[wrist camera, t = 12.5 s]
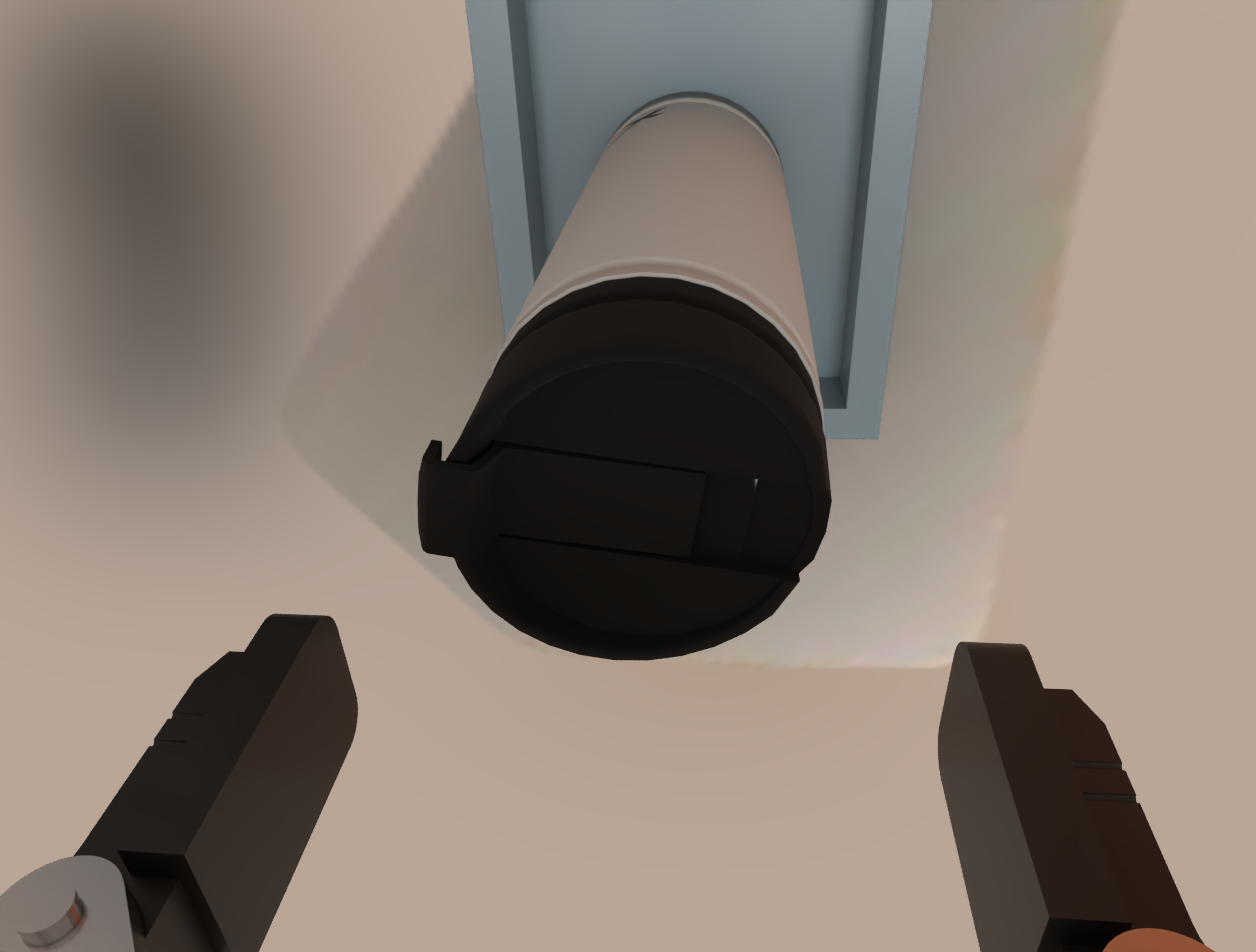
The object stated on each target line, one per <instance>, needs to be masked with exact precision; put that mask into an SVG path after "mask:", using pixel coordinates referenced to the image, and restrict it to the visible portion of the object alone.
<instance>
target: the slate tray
mask: <svg viewBox="0 0 1256 952" xmlns="http://www.w3.org/2000/svg"><path fill="white" fill-rule="evenodd" d="M932 1H933V0H465V3H466V11H467V20H468V28H469V36H470V44H471V53H472V62H473V70H474V79H475V87H476V96H477V104H478V112H479V121H480V129H481V138H482V146H483V154H484V163H485V171H486V180H487V188H488V196H489V205H490V213H491V222H492V230H493V238H494V247H495V255H496V264H497V272H498V280H499V289H500V297H501V306H502V314H503V322H504V331H505V339H507V336H508V334H509V332H510V330H511V328H512V326H513V324H514V322H515V320H516V318H517V316H518V315H519V313H520V311H521V309H522V307H523V305H524V303H525V301H526V299H527V297H528V295H529V293H530V291H531V290H532V288H533V286H534V284H535V282H536V280H537V278H538V276H539V274H540V272H541V270H542V268H543V267H544V265H545V263H546V261H547V259H548V257H549V255H550V253H551V251H552V249H553V247H554V245H555V243H556V242H557V240H558V238H559V236H560V234H561V232H562V230H563V228H564V226H565V224H566V222H567V220H568V218H569V217H570V215H571V213H572V211H573V209H574V207H575V205H576V203H577V201H578V199H579V197H580V195H581V193H582V192H583V190H584V188H585V186H586V184H587V182H588V180H589V178H590V176H591V174H592V172H593V170H594V168H595V167H596V165H597V163H598V161H599V159H600V157H601V155H602V153H603V152H604V149H605V147H606V145H607V143H608V142H609V140H610V139H611V137H612V136H613V134H614V133H615V131H616V130H617V128H618V127H619V125H620V124H621V123H622V122H624V121H625V120H626V119H627V118H628V117H629V116H630V115H631V114H632V113H633V112H634V111H636V110H637V109H639V108H640V107H642V106H643V105H645V104H647V103H648V102H650V101H652V100H655V99H658V98H660V97H663V96H666V95H669V94H675V93H682V92H702V93H709V94H713V95H717V96H720V97H724V98H726V99H728V100H730V101H732V102H734V103H736V104H738V105H740V106H742V107H743V108H745V109H746V110H747V111H748V112H750V113H751V114H752V115H753V116H754V117H756V118H757V119H758V120H759V122H760V123H761V124H762V125H763V126H764V128H765V129H766V130H767V131H768V133H769V134H770V136H771V138H772V140H773V142H774V144H775V146H776V148H777V150H778V152H779V155H780V159H781V163H782V166H783V170H784V176H785V182H786V188H787V194H788V200H789V206H790V212H791V218H792V224H793V229H794V235H795V241H796V247H797V253H798V259H799V265H800V271H801V277H802V283H803V289H804V295H805V301H806V307H807V313H808V318H809V324H810V330H811V336H812V342H813V348H814V354H815V360H816V366H817V372H818V378H819V384H820V393H821V396H822V402H823V411H824V428H825V439H878V436H879V428H880V420H881V412H882V404H883V396H884V388H885V379H886V371H887V363H888V355H889V347H890V339H891V331H892V323H893V315H894V307H895V299H896V291H897V283H898V275H899V267H900V259H901V251H902V243H903V234H904V226H905V218H906V210H907V202H908V194H909V186H910V178H911V170H912V162H913V154H914V146H915V138H916V130H917V122H918V114H919V106H920V98H921V90H922V81H923V73H924V65H925V57H926V49H927V41H928V33H929V25H930V17H931V9H932Z"/></svg>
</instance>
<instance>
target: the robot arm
mask: <svg viewBox="0 0 1256 952" xmlns="http://www.w3.org/2000/svg"><path fill="white" fill-rule="evenodd" d="M172 713H173V716H172V718H171V719H168V720H167V721H166V722H165V724H164V725H163V727H162V728H161V730H160V731H159V733H158V734H157V736H156V737H155V739H154V745H153V746H149V747H148V749H147V750H146V752H145V753H144V755H143V756H142V758H141V759H140V760H139V762H138V763H137V765H136V766H135V768H134V769H133V771H132V772H131V774H130V775H129V777H128V778H127V780H126V781H125V783H124V784H123V786H122V787H121V788H120V790H119V791H118V793H117V794H116V796H115V797H114V799H113V800H112V802H111V803H110V804H109V806H108V807H107V809H106V810H105V812H104V813H103V815H102V816H101V818H100V819H99V821H98V822H97V824H96V825H95V827H94V828H93V829H92V831H91V832H90V834H89V836H88V837H87V838H86V840H85V841H84V843H83V844H82V846H81V847H80V848H79V850H78V851H77V852H76V853H75V855H74V856H73V857H68V858H64V859H60V860H57V861H54V862H52V863H49V864H46V865H44V866H42V867H40V868H39V869H36V870H34V871H33V872H31V873H29V874H28V875H26V876H25V877H23V878H21V879H20V880H19V881H17V882H16V883H15V884H14V885H12V886H11V887H10V888H9V889H7V890H6V891H5V892H4V893H3V894H2V895H1V896H0V952H259V950H260V948H261V945H262V943H263V941H264V939H265V936H266V934H267V932H268V930H269V928H270V925H271V923H272V921H273V918H274V916H275V914H276V912H277V910H278V908H279V905H280V903H281V901H282V899H283V896H284V894H285V892H286V889H287V887H288V885H289V883H290V881H291V878H292V876H293V874H294V872H295V870H296V867H297V865H298V863H299V861H300V858H301V856H302V854H303V852H304V849H305V847H306V845H307V843H308V841H309V838H310V836H311V834H312V831H313V829H314V827H315V825H316V823H317V820H318V818H319V816H320V813H321V811H322V809H323V807H324V805H325V803H326V800H327V798H328V796H329V794H330V791H331V789H332V787H333V785H334V782H335V780H336V778H337V775H338V773H339V771H340V769H341V767H342V764H343V762H344V760H345V758H346V755H347V753H348V751H349V749H350V747H351V744H352V742H353V738H354V735H355V731H356V724H357V716H358V704H357V697H356V692H355V689H354V685H353V682H352V679H351V675H350V671H349V668H348V664H347V661H346V657H345V654H344V650H343V646H342V643H341V639H340V636H339V632H338V628H337V626H336V623H335V621H334V620H333V619H332V618H331V617H330V616H322V615H296V614H295V615H294V614H272V615H270V616H269V617H268V618H266V619H265V621H264V622H263V623H262V625H261V626H260V628H259V629H258V631H257V633H256V634H255V636H254V637H253V639H252V641H251V642H250V643H249V645H248V647H247V648H246V650H245V651H244V652H231V651H229V652H228V653H227V654H225V655H224V656H223V657H222V658H220V659H219V660H218V661H217V662H216V663H214V664H213V665H212V666H211V667H209V668H208V669H207V670H206V671H204V672H203V673H202V674H201V675H200V676H199V677H197V678H196V679H195V680H194V681H193V683H192V684H191V686H190V687H189V689H188V690H187V692H186V693H185V694H184V696H183V698H182V699H181V700H180V702H179V704H178V705H177V706H176V708H175V709H174V711H173V712H172ZM938 759H939V769H940V775H941V781H942V785H943V789H944V794H945V798H946V802H947V807H948V811H949V816H950V820H951V824H952V829H953V833H954V837H955V842H956V846H957V850H958V855H959V859H960V864H961V868H962V872H963V877H964V881H965V885H966V890H967V894H968V899H969V902H970V907H971V911H972V916H973V920H974V925H975V929H976V933H977V938H978V942H979V946H980V951H981V952H1215V951H1213V950H1212V949H1210V948H1209V947H1207V946H1206V945H1204V943H1203V942H1202V940H1201V939H1200V937H1199V935H1198V933H1197V931H1196V929H1195V927H1194V926H1193V923H1192V921H1191V919H1190V917H1189V914H1188V912H1187V910H1186V908H1185V905H1184V903H1183V901H1182V899H1181V896H1180V894H1179V892H1178V889H1177V887H1176V885H1175V883H1174V880H1173V878H1172V876H1171V873H1170V871H1169V869H1168V866H1167V864H1166V862H1165V860H1164V858H1163V855H1162V853H1161V851H1160V848H1159V846H1158V844H1157V841H1156V839H1155V837H1154V835H1153V832H1152V830H1151V828H1150V826H1149V823H1148V821H1147V819H1146V816H1145V814H1144V812H1143V810H1142V807H1141V805H1140V803H1137V802H1136V794H1135V791H1134V789H1133V787H1132V785H1131V782H1130V780H1129V778H1128V775H1127V773H1126V771H1124V770H1122V762H1121V759H1120V757H1119V755H1118V753H1117V750H1116V748H1115V746H1114V744H1113V741H1112V739H1111V737H1110V735H1109V732H1108V730H1107V728H1106V725H1105V724H1104V723H1103V721H1101V719H1100V718H1099V717H1098V716H1097V715H1096V714H1095V713H1094V712H1093V711H1092V710H1091V709H1090V708H1089V707H1088V706H1087V705H1086V704H1085V703H1084V702H1083V701H1082V700H1081V699H1080V698H1079V697H1078V695H1077V694H1076V693H1075V692H1074V691H1073V690H1067V689H1044V688H1043V686H1042V683H1041V681H1040V678H1039V675H1038V673H1037V670H1036V668H1035V665H1034V662H1033V660H1032V657H1031V655H1030V652H1029V651H1028V649H1027V647H1026V646H1024V645H1022V644H1003V643H978V642H960V643H959V644H958V645H957V647H956V650H955V653H954V658H953V663H952V668H951V672H950V677H949V682H948V687H947V692H946V696H945V701H944V706H943V711H942V716H941V721H940V726H939V733H938Z"/></svg>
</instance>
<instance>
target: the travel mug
mask: <svg viewBox="0 0 1256 952" xmlns="http://www.w3.org/2000/svg"><path fill="white" fill-rule="evenodd" d="M441 458H442V441H437V440H431V442H430V444H429V446H428V448H427V450H426V452H425V454H424V456H423V458H422V463H421V467H420V471H419V481H418V529H419V534H420V540H421V546H422V549H423V551H425V552H426V553H429V554H435V555H441V556H447V557H453V558H454V559H455V561H456V563H457V566H458V568H459V570H460V571H461V573H462V574H463V576H464V578H465V579H466V581H467V582H468V584H469V586H470V587H471V589H472V590H473V591H474V592H475V593H476V594H477V595H478V596H479V597H480V598H481V599H482V600H483V602H484V603H485V604H486V605H487V606H488V607H489V608H490V609H491V610H492V611H493V612H494V613H496V614H497V615H498V616H500V617H501V618H503V619H504V620H505V621H507V622H508V623H509V624H511V625H512V626H514V627H515V628H516V629H518V630H519V631H521V632H523V633H525V634H527V635H529V636H531V637H533V638H535V639H537V640H539V641H542V642H544V643H546V644H548V645H550V646H554V647H557V648H560V649H563V650H566V651H570V652H573V653H576V654H579V655H585V656H591V657H598V658H604V659H611V660H654V659H662V658H669V657H677V656H683V655H687V654H690V653H694V652H697V651H701V650H705V649H708V648H712V647H715V646H717V645H719V644H722V643H724V642H726V641H728V640H730V639H733V638H735V637H737V636H739V635H742V634H744V633H746V632H747V631H749V630H750V629H752V628H753V627H755V626H756V625H758V624H759V623H761V622H762V621H764V620H765V619H767V618H769V617H770V616H772V615H773V614H774V613H775V611H776V610H777V609H778V608H779V606H780V605H781V604H782V603H783V601H784V600H785V599H786V598H787V596H788V595H789V594H790V593H791V591H792V590H793V589H794V588H795V586H796V585H797V584H798V583H799V581H800V579H799V573H800V572H801V571H802V570H803V569H804V568H805V567H806V566H807V565H808V564H809V563H811V562H812V561H813V560H814V558H815V555H816V553H817V551H818V549H819V546H820V544H821V542H822V539H823V537H824V535H825V533H826V529H827V523H828V518H829V513H830V507H831V502H832V500H831V490H830V480H829V470H828V460H827V450H826V440H825V428H824V411H823V402H822V396H821V393H820V384H819V378H818V372H817V366H816V360H815V354H814V348H813V342H812V336H811V330H810V324H809V318H808V313H807V307H806V301H805V295H804V289H803V283H802V277H801V271H800V265H799V259H798V253H797V247H796V241H795V235H794V229H793V224H792V218H791V212H790V206H789V200H788V194H787V188H786V182H785V176H784V170H783V166H782V163H781V159H780V155H779V152H778V150H777V148H776V146H775V144H774V142H773V140H772V138H771V136H770V134H769V133H768V131H767V130H766V129H765V128H764V126H763V125H762V124H761V123H760V122H759V120H758V119H757V118H756V117H754V116H753V115H752V114H751V113H750V112H748V111H747V110H746V109H745V108H743V107H742V106H740V105H738V104H736V103H734V102H732V101H730V100H728V99H726V98H724V97H720V96H717V95H713V94H709V93H702V92H682V93H675V94H669V95H666V96H663V97H660V98H658V99H655V100H652V101H650V102H648V103H647V104H645V105H643V106H642V107H640V108H639V109H637V110H636V111H634V112H633V113H632V114H631V115H630V116H629V117H628V118H627V119H626V120H625V121H624V122H622V123H621V124H620V125H619V127H618V128H617V130H616V131H615V133H614V134H613V136H612V137H611V139H610V140H609V142H608V143H607V145H606V147H605V149H604V152H603V153H602V155H601V157H600V159H599V161H598V163H597V165H596V167H595V168H594V170H593V172H592V174H591V176H590V178H589V180H588V182H587V184H586V186H585V188H584V190H583V192H582V193H581V195H580V197H579V199H578V201H577V203H576V205H575V207H574V209H573V211H572V213H571V215H570V217H569V218H568V220H567V222H566V224H565V226H564V228H563V230H562V232H561V234H560V236H559V238H558V240H557V242H556V243H555V245H554V247H553V249H552V251H551V253H550V255H549V257H548V259H547V261H546V263H545V265H544V267H543V268H542V270H541V272H540V274H539V276H538V278H537V280H536V282H535V284H534V286H533V288H532V290H531V291H530V293H529V295H528V297H527V299H526V301H525V303H524V305H523V307H522V309H521V311H520V313H519V315H518V316H517V318H516V320H515V322H514V324H513V326H512V328H511V330H510V332H509V334H508V336H507V339H506V341H505V342H504V344H503V345H502V347H501V349H500V351H499V353H498V356H497V358H496V361H495V363H494V365H493V368H492V370H491V373H490V375H489V377H488V380H487V383H486V386H485V388H484V390H483V392H482V394H481V396H480V398H479V401H478V403H477V405H476V407H475V409H474V410H473V412H472V414H471V416H470V418H469V420H468V422H467V424H466V426H465V428H464V430H463V432H462V434H461V436H460V438H459V440H458V441H457V443H456V445H455V446H454V448H453V449H452V451H451V453H450V454H449V456H448V458H447V459H446V461H441Z"/></svg>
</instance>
